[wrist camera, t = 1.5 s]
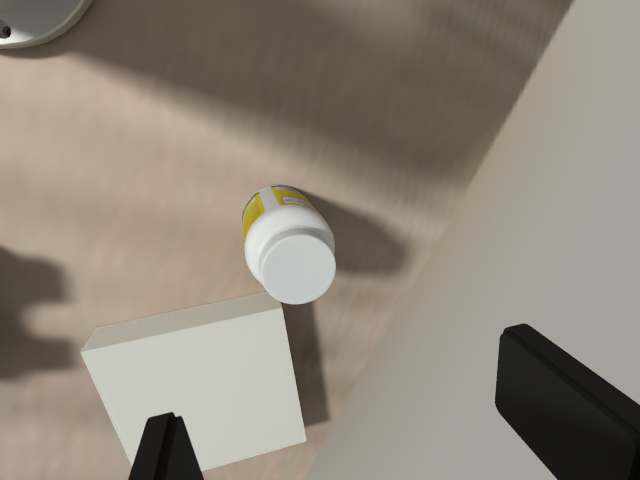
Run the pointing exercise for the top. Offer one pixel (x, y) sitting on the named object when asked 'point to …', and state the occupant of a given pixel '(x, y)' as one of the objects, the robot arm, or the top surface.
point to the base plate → (202, 377)
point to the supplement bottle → (288, 245)
